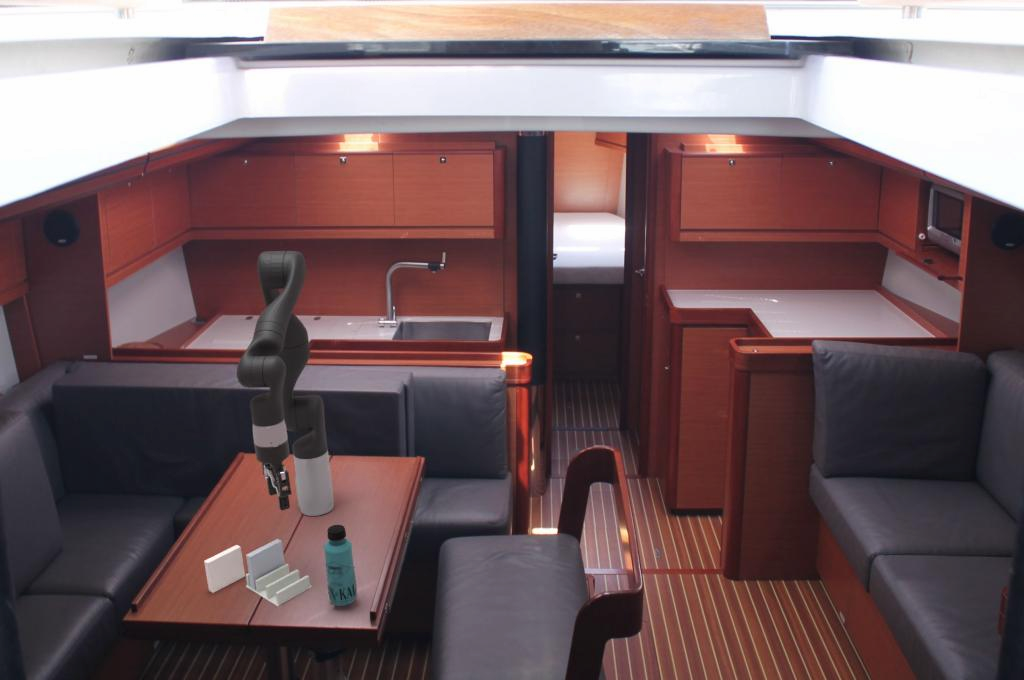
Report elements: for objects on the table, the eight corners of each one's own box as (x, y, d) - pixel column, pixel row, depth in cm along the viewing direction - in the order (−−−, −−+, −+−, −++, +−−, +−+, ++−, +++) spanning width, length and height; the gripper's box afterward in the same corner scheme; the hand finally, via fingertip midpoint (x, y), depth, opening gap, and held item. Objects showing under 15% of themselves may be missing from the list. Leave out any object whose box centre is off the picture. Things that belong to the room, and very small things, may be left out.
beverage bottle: (331, 596, 227) (322, 521, 220) (359, 594, 227) (351, 519, 221) (328, 613, 221) (319, 536, 214) (357, 610, 221) (349, 534, 215)
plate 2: (251, 587, 230) (245, 554, 227) (282, 570, 237) (277, 538, 234) (254, 589, 229) (249, 557, 226) (286, 573, 236) (281, 540, 233)
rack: (277, 609, 223) (275, 595, 222) (245, 588, 231) (243, 575, 230) (312, 589, 230) (311, 575, 229) (280, 570, 238) (278, 556, 237)
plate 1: (209, 593, 230) (203, 561, 227) (241, 576, 237) (236, 544, 233) (213, 596, 229) (207, 563, 226) (245, 578, 235) (240, 546, 232)
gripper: (245, 431, 226) (254, 493, 231) (263, 454, 214) (272, 518, 219) (277, 424, 229) (285, 485, 235) (296, 445, 218) (304, 509, 223)
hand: (279, 501), depth 227 cm, fingers open, 8 cm apart
